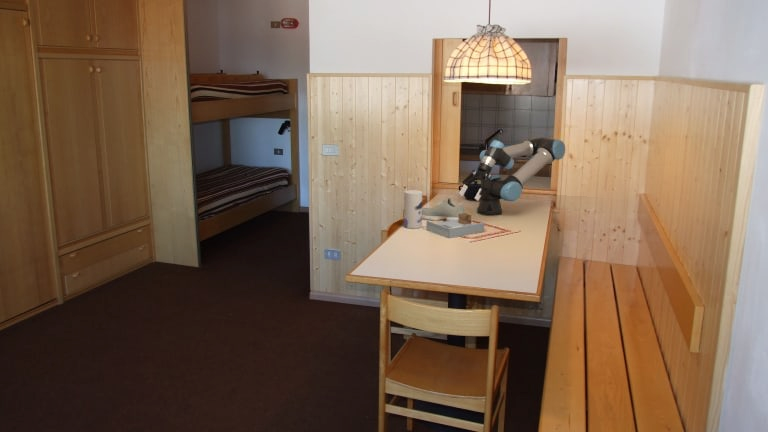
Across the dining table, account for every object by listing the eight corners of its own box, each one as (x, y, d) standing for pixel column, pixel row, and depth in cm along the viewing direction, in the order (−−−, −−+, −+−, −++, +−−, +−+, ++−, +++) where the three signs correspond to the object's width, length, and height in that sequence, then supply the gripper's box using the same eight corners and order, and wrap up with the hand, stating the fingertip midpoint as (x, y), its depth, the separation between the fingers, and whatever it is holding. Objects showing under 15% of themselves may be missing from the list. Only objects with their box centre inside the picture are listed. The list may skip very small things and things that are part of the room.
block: (465, 221, 369) (465, 212, 368) (471, 223, 365) (471, 214, 364) (458, 222, 366) (458, 214, 365) (464, 224, 362) (464, 215, 361)
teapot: (454, 199, 438) (455, 181, 435) (461, 195, 452) (462, 177, 449) (491, 203, 429) (492, 184, 426) (497, 198, 443) (498, 180, 440)
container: (420, 229, 364) (421, 193, 359) (402, 228, 366) (402, 192, 361) (422, 224, 373) (423, 190, 369) (405, 223, 375) (406, 189, 370)
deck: (460, 224, 375) (460, 215, 374) (483, 231, 359) (484, 223, 358) (426, 229, 362) (426, 221, 361) (449, 238, 346) (449, 229, 345)
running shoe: (421, 215, 397) (422, 193, 393) (468, 220, 384) (469, 197, 381) (414, 219, 387) (414, 196, 384) (462, 225, 374) (463, 201, 371)
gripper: (468, 159, 383) (450, 190, 381) (497, 165, 363) (479, 198, 360) (475, 165, 388) (458, 196, 385) (505, 172, 367) (487, 204, 365)
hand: (468, 197), depth 373 cm, fingers open, 13 cm apart
